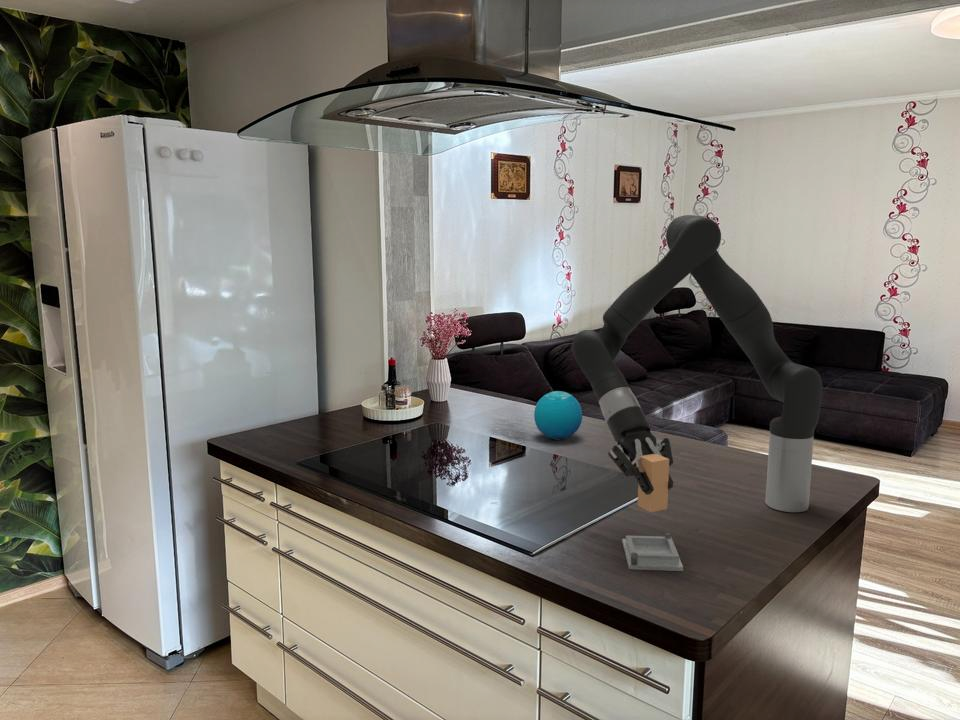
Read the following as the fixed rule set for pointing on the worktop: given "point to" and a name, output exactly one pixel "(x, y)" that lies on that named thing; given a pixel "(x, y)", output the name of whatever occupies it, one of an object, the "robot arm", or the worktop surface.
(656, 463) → the tan block
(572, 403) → the decorative orb
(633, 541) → the plate
